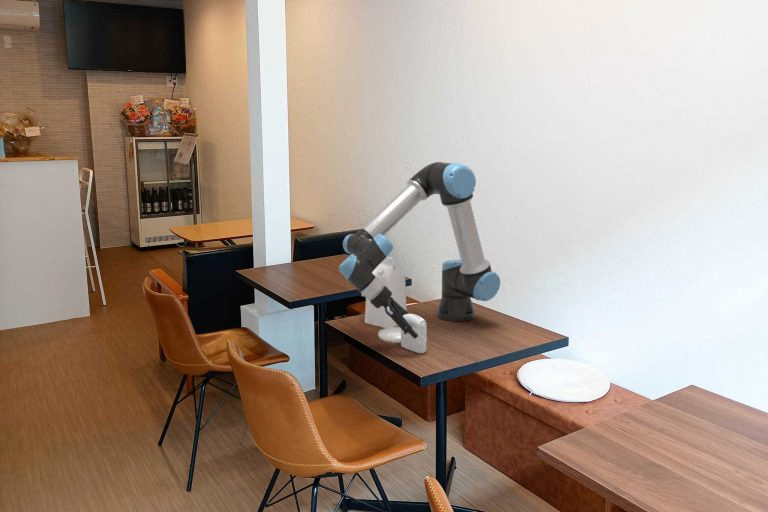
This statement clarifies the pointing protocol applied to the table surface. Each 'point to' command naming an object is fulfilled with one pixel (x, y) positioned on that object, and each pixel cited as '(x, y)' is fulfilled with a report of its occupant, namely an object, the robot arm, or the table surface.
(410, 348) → the photo printer
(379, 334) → the white plate
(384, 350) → the table surface
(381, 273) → the milk
